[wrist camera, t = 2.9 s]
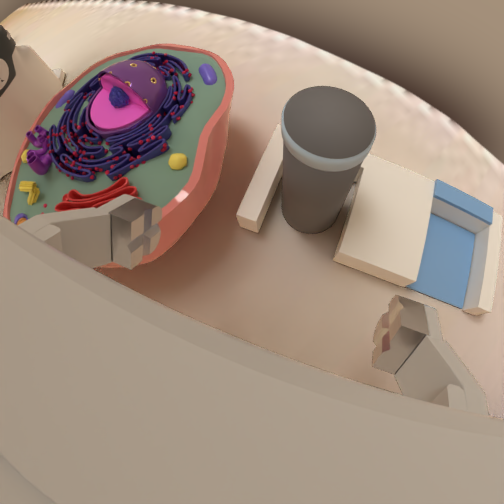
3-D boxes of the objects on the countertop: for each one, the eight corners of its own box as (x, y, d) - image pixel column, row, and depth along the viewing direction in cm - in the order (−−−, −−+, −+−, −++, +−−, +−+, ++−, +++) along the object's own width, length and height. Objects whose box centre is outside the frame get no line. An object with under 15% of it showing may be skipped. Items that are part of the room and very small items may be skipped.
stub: (271, 222, 24) (267, 139, 14) (291, 172, 25) (298, 75, 15) (329, 243, 24) (367, 173, 13) (346, 191, 25) (383, 102, 14)
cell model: (32, 227, 26) (-46, 182, 15) (155, 83, 30) (120, 3, 19) (140, 342, 23) (46, 340, 12) (289, 148, 26) (293, 45, 15)
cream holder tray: (239, 226, 24) (235, 212, 22) (277, 140, 26) (277, 120, 23) (474, 315, 21) (493, 312, 18) (487, 225, 23) (505, 214, 20)
